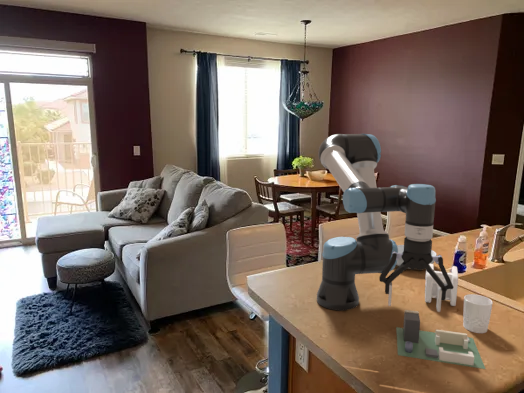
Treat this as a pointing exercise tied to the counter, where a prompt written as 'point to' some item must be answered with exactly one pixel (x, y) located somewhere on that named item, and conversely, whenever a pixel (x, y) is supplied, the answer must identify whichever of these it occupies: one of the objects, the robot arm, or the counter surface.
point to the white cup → (476, 313)
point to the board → (434, 348)
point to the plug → (411, 326)
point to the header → (453, 339)
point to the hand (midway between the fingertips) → (413, 307)
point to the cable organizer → (432, 286)
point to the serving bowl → (400, 250)
